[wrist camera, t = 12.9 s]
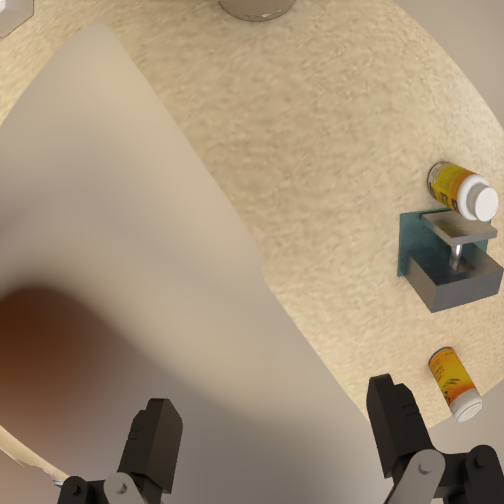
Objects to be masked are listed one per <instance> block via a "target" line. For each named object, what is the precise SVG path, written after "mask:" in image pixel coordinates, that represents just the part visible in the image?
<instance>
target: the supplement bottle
mask: <svg viewBox="0 0 504 504" xmlns="http://www.w3.org/2000/svg"><path fill="white" fill-rule="evenodd" d="M428 187H429V191H430V193H431V194H432V196H433V197H434V198H435V199H437V200H438V201H440V202H441V203H443V204H444V205H446V206H447V207H449V208H450V209H452V210H454V211H455V212H457V213H458V214H460V215H461V216H463V217H464V218H466V219H468V220H477V219H479V220H481V221H488V220H490V219H491V218H492V217H493V216H494V214H495V213H496V210H497V207H498V196H497V193H496V191H495V190H494V189H493V188H491V187H490V185H489V183H488V181H487V180H486V179H485V178H484V177H483V176H481V175H479V174H476V173H474V172H472V171H469V170H467V169H464V168H462V167H459V166H457V165H454V164H452V163H449V162H441V163H438V164H437V165H435V166H434V167H433V169H432V170H431V172H430V175H429V178H428Z"/></svg>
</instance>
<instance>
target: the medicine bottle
mask: <svg viewBox="0 0 504 504" xmlns="http://www.w3.org/2000/svg"><path fill="white" fill-rule="evenodd" d="M33 13H34V12H33V0H0V37H3V38H4V37H6V36H7V35H8V34H9V33H10V32H12V31H13V30H14V29H15V28H16V27H18V26H19V25H20V24H22V23H23V22H24V21H26V20H27V19H28V18H30V17H31V16H32V15H33Z"/></svg>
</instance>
